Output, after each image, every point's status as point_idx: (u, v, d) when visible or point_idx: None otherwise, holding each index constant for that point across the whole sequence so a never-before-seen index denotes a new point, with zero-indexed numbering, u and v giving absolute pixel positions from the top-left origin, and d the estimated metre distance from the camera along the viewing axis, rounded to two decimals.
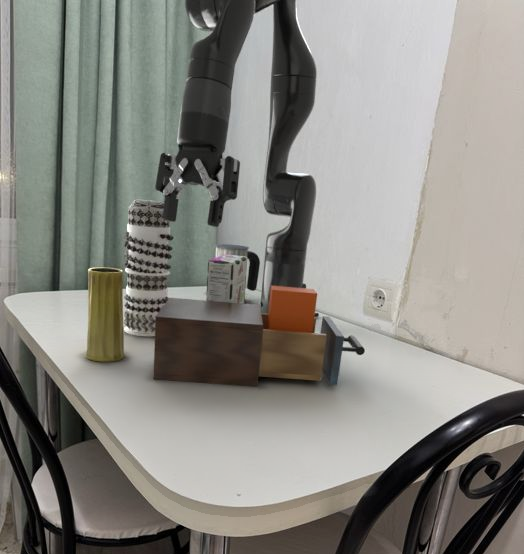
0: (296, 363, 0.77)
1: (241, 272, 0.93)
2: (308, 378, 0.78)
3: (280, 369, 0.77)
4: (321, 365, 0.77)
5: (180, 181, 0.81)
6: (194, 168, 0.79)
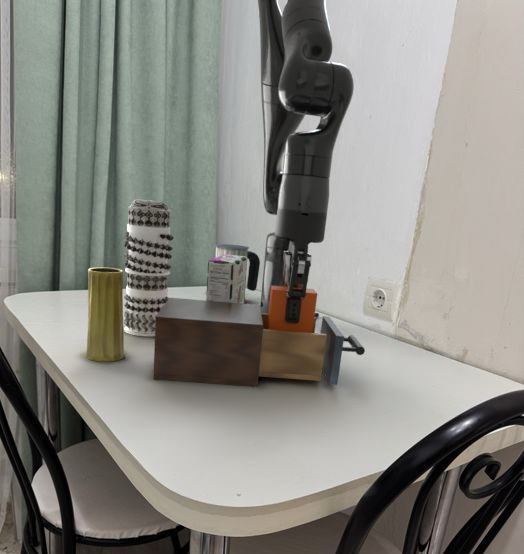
0: (296, 363, 0.77)
1: (241, 272, 0.93)
2: (308, 378, 0.78)
3: (280, 369, 0.77)
4: (321, 365, 0.77)
5: None
6: None
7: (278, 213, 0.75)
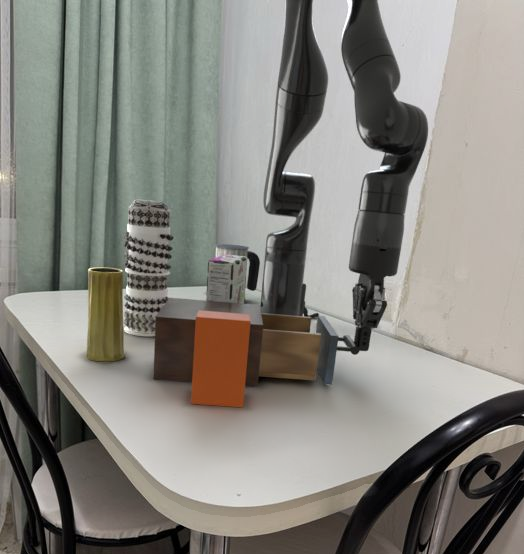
0: (291, 363, 0.77)
1: (241, 272, 0.93)
2: (303, 378, 0.77)
3: (275, 369, 0.77)
4: (316, 365, 0.77)
5: None
6: None
7: (354, 247, 0.77)
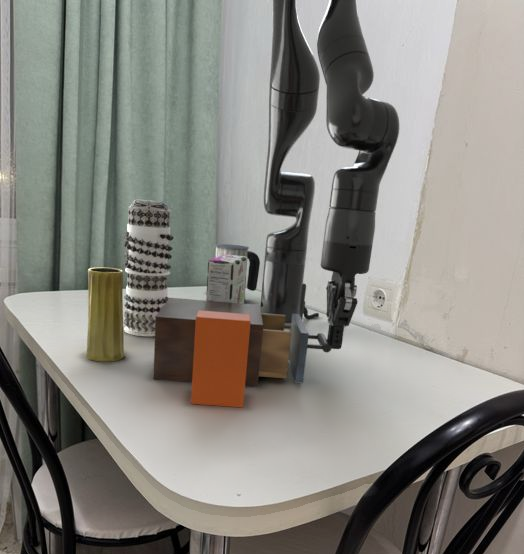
0: (261, 360, 0.76)
1: (241, 272, 0.93)
2: (274, 375, 0.77)
3: None
4: (286, 362, 0.77)
5: None
6: None
7: (325, 245, 0.77)
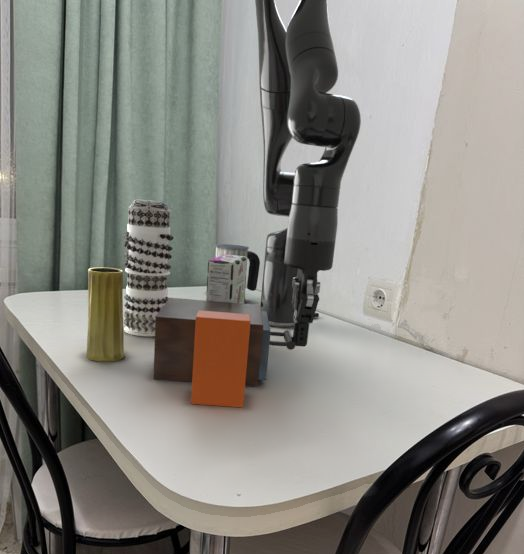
0: None
1: (241, 272, 0.93)
2: None
3: None
4: None
5: None
6: None
7: (287, 242, 0.77)
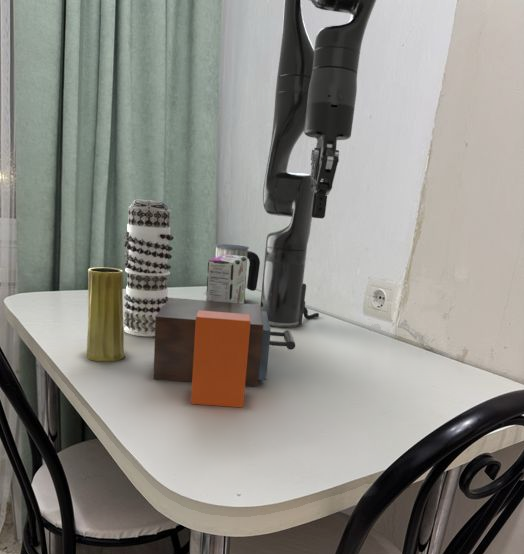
0: None
1: (241, 272, 0.93)
2: None
3: None
4: None
5: None
6: None
7: (308, 108, 0.79)
